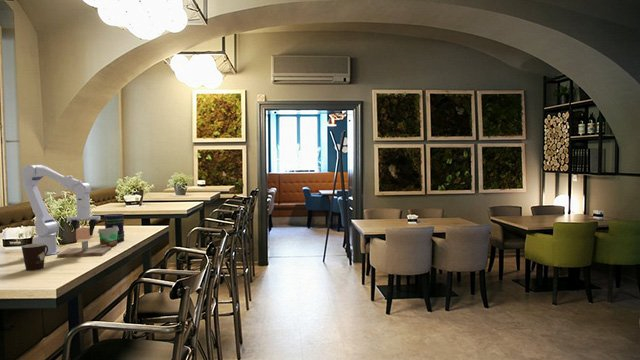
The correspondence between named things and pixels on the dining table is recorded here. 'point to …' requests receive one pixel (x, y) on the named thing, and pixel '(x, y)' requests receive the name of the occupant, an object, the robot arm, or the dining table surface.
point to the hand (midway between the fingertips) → (84, 235)
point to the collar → (83, 233)
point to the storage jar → (115, 224)
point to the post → (84, 245)
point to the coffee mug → (34, 256)
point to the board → (84, 252)
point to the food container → (108, 236)
